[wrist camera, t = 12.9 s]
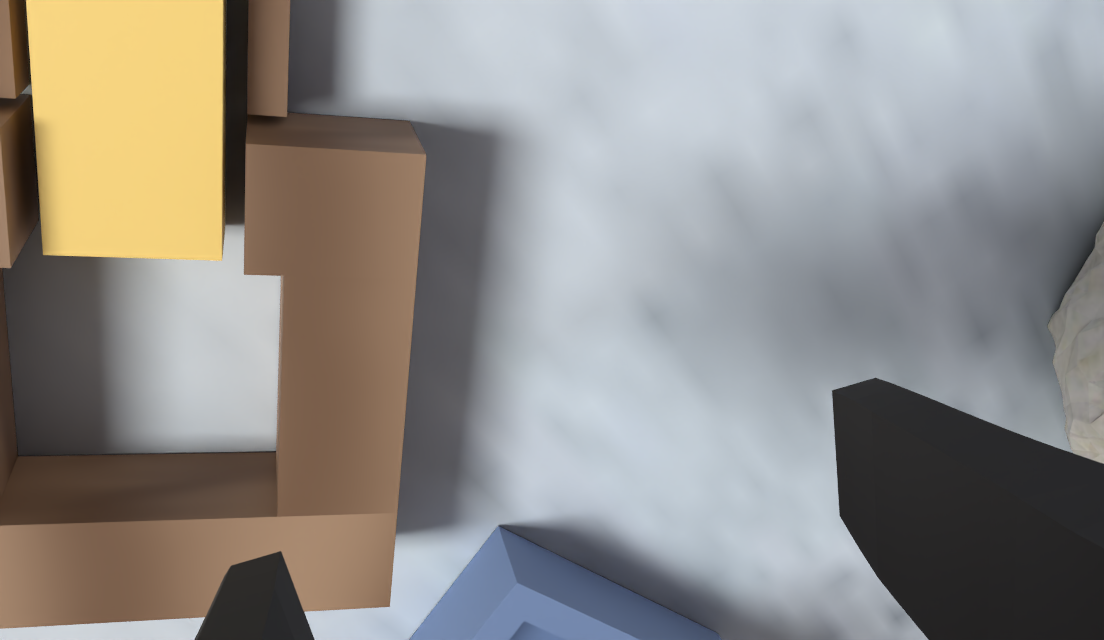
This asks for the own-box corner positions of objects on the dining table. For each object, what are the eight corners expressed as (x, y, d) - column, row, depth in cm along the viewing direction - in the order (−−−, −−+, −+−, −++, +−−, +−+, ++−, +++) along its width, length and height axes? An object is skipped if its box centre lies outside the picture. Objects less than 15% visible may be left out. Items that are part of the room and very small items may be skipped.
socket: (429, -152, 19) (451, -149, 17) (378, 538, 25) (390, 606, 23) (-211, -241, 16) (-285, -253, 14) (-100, 556, 22) (-140, 636, 20)
